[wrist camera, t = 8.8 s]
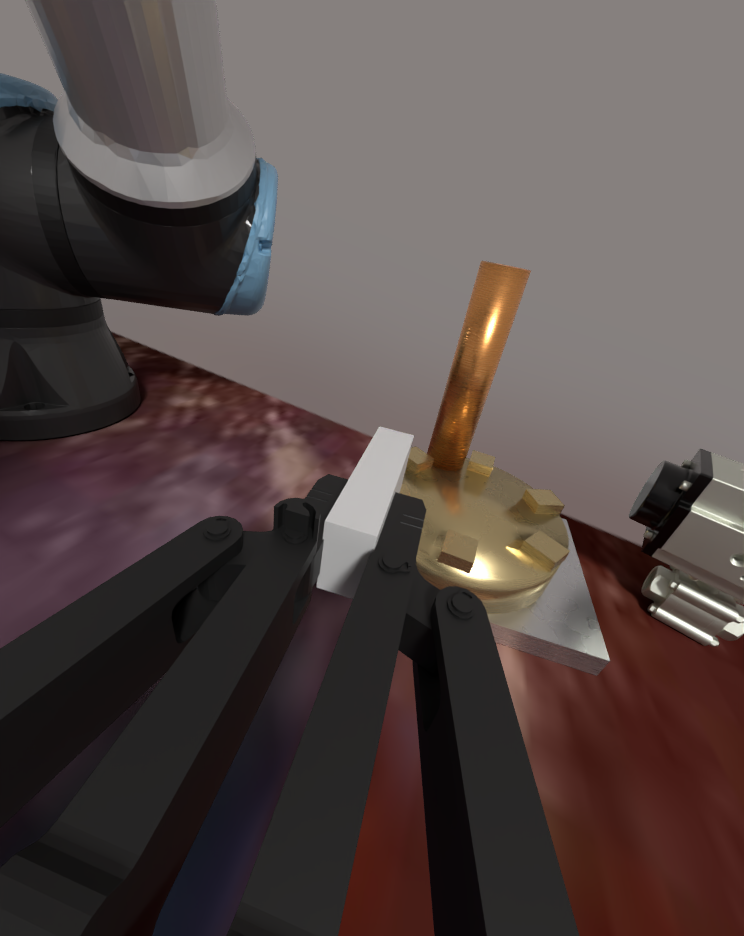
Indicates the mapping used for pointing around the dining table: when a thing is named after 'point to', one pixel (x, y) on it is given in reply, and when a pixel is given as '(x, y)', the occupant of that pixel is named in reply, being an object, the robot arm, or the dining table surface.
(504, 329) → the brass lugged disc
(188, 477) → the dining table surface
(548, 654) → the flange plate
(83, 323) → the robot arm
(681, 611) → the pneumatic valve
